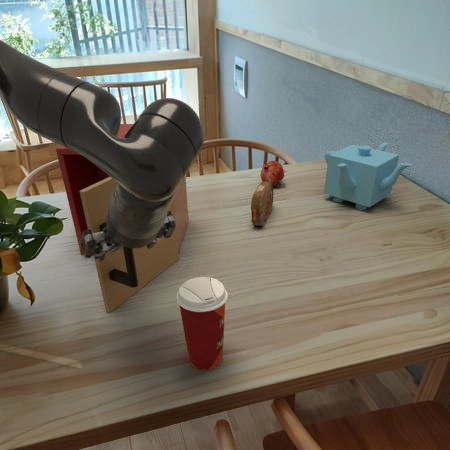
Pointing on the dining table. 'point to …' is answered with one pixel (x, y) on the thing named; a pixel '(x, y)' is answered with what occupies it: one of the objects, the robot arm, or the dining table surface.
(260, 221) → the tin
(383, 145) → the teakettle
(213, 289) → the paper cup
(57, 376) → the dining table surface
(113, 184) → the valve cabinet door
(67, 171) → the cabinet
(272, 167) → the pomegranate
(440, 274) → the dining table surface
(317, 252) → the dining table surface
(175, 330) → the dining table surface
